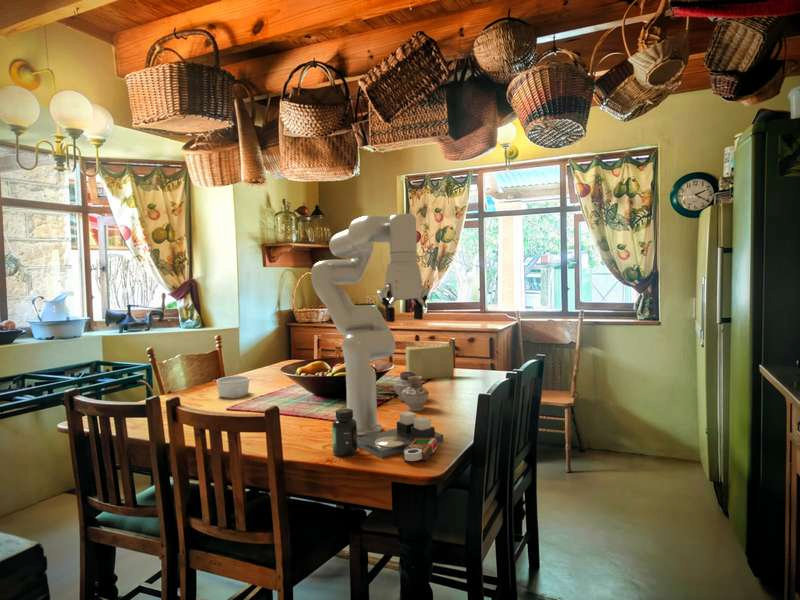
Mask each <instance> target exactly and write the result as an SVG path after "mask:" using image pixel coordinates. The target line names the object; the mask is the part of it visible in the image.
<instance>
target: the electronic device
mask: <svg viewBox="0 0 800 600" xmlns="http://www.w3.org/2000/svg"><path fill="white" fill-rule="evenodd" d="M438 446H439V443H438V438H423V437H416V438H415V439H414V440H413V441H412V442H411V443H410V444H409V445H408V446H407V447H406V448H405V449H404V450H403V451H402V453H401V455H402V460H405V461H407V462H408V461H409V462H416V461H421V460H422V461H423V460H426V461H427V460H428V459H429V457H430V456H431V455H432V454H433V453H435V451H436V450H437V448H438Z"/></svg>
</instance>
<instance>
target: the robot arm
mask: <svg viewBox="0 0 800 600" xmlns="http://www.w3.org/2000/svg"><path fill="white" fill-rule="evenodd" d="M417 238H418V237H417V218H416V215H414V214H412V213H396V214H392V215H390V216H389V215H378V214H377V215H375V214H374V215H372V214H371V215H370V214H369V215H364V216H363V215H362V216H361V217H358V218H355V219H354V220H352V221H351V222H350V224H349V226H348V229H345V230H342V231H339V232H337V233H336V234H334V235H333V236H332V237H331V239H330V241H329V245H328V246H329V250H330V252H331V254H332V255H333V256H335V257H337V258H341V259H324V260H320V261H318V262H316V263H315V264H313V266H312V268H311V272H310V278H311V284H312V288H313V290H314V293H316V295H317V297H318V298H319V299H320V301H321V302H322V303H323V304H324V306H325V308H326V310H327V312H328V314H329V317H330V318H331V320H332V323H333V324H334V326H335V328H336V329H337V332H339V334H341V335H343V336H345V337H343V338H342V339H343V340H342V343H341V349H342V354H343V359H344V364H345V365H344V367H345V382H346V384H345V386H346V409H352V410H353V419H354V420H355V421H356V422H357V436H367V435H371V434H375V433H379V432H382V430H383V424H382V423H380V422H378V410H377V409H378V403H377V374H376V371H375V369H374V367H373V366H372V365H371V363H370V361H371V362H372V361H375V360H382V359H388V358H390V357H392V356H393V355H394V354H395V352H396V340H395V337H394V334H393V333H392V332H393V331H392V330H391V329H390V326H388V323H387V322H389V323H394V322H395V321H396V320H395V313H396V312H395V310H396V309H395V307H393V306H394V304H395V303H396V302H397V301H405V300H406V301H407V300H410V301H411V300H412V301H413V302H414V303H415V304H414V306H413V318H414V319H415V320H419V321H421V320H423V318H424V315H423V313H424V312H423V310H424V307H423V306H425V304H426V301H427V300H428V296H429V293H430V289H429V288H428V287H426V286H424V285H422V274H421V269H420V264H419V263H418V260H420V255H419V254H418V247H417V246H418V244H417V243H418V240H417ZM374 243H389V264H387V265H386V270H385V276H384V286H383V287H382V288H380V289H379V290H377V291H376V294H377V297H378V299H379V302H380V303H381V304H382V305H383V307H384V308H385V318H384V317H383V314H382V313H381V311H380V310H379V309H378V308H377V307H376V306H373V305H355V304H354V303H353V302H352V300H351V298H350V296H349V294H348V293H347V292H346V291H345V290H344V289H342V288H340V287H339V286H338V285H355V284H358V283H359V282H360V281H361V279H362V278H363V276H364V274H365V272H366V269H367V268H368V264H369V262H370V259H371V258H372V255H373V252H374ZM385 319H386V320H385Z"/></svg>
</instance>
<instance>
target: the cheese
mask: <svg viewBox="0 0 800 600" xmlns="http://www.w3.org/2000/svg"><path fill="white" fill-rule="evenodd" d="M408 371H410V372H415V376H421V377H422V379H421V380H428V379H441V378H442V379H443V378H453V377H454V357H453V348H452V346H451V345H449V344H448V345H447V344H444V345H434V346H406V347H405V372H408Z"/></svg>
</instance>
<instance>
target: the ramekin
mask: <svg viewBox="0 0 800 600" xmlns="http://www.w3.org/2000/svg"><path fill="white" fill-rule="evenodd" d="M249 384H250V377H249V376H245V375H231V376H224V377H221V378H217V379H216V385H217V390H218V396H219V397H221V398H222V397H227V398H226V399H233V398H232V397H238V398H242V397H245V396H247V395H248V393H249V388H250V387H249ZM244 395H245V396H244ZM241 396H242V397H241Z"/></svg>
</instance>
